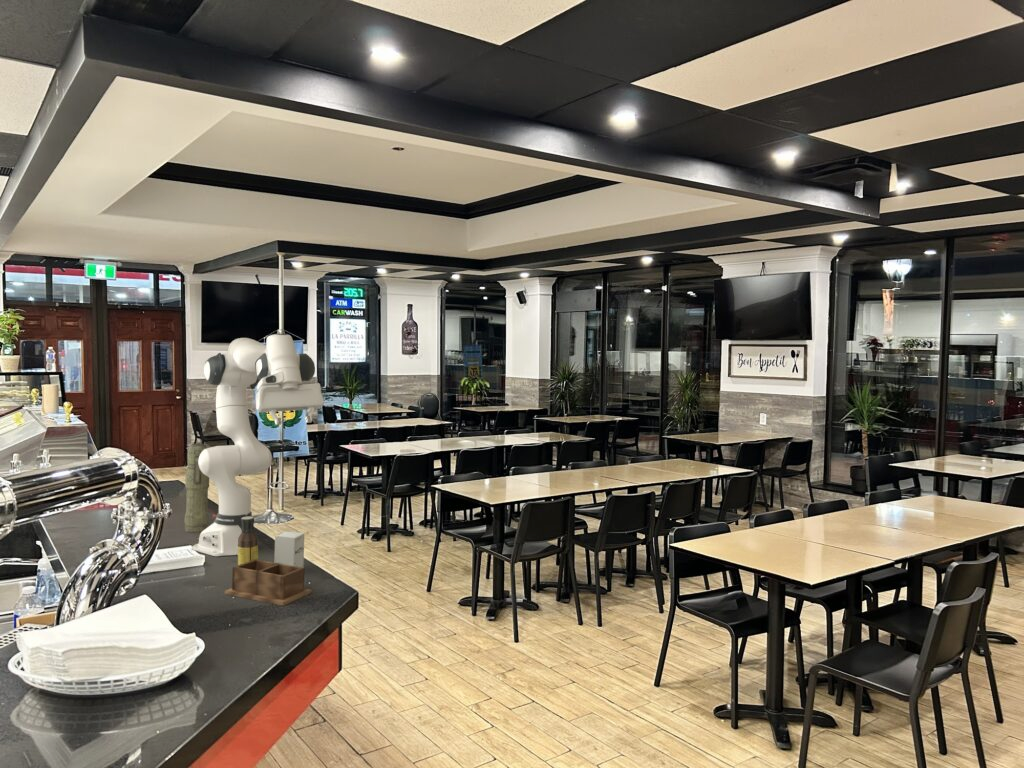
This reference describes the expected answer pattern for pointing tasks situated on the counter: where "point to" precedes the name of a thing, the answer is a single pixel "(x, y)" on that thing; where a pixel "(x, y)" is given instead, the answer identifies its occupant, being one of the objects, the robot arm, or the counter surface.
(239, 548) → the sauce bottle
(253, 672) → the counter surface
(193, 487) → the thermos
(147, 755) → the counter surface
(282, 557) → the supplement box
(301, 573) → the condiment caddy
